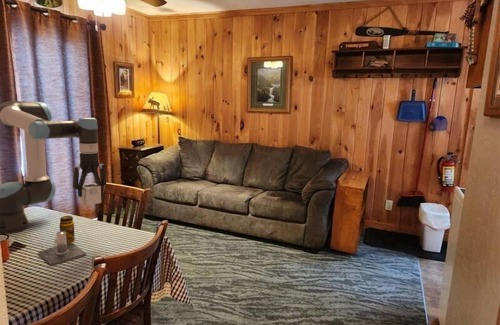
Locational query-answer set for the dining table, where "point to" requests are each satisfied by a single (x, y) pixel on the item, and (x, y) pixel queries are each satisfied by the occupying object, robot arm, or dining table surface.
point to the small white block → (92, 194)
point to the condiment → (67, 229)
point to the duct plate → (61, 258)
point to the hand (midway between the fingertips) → (90, 201)
